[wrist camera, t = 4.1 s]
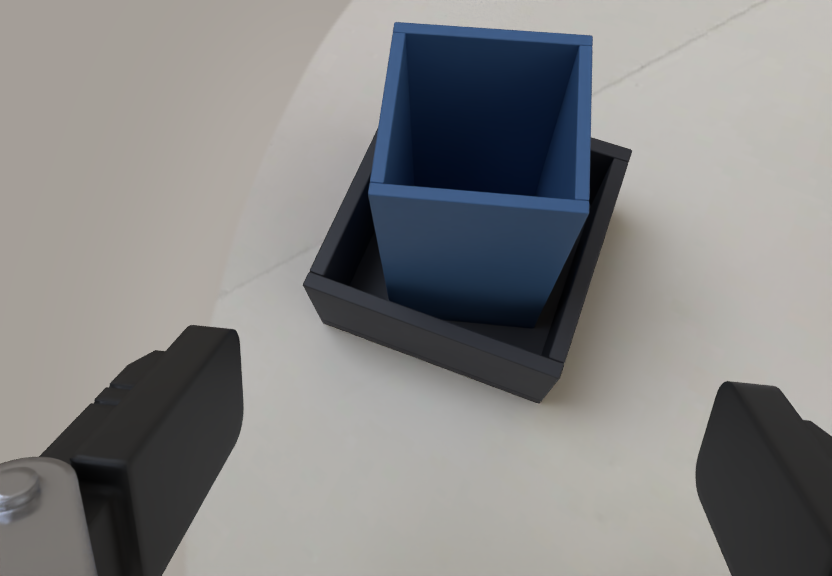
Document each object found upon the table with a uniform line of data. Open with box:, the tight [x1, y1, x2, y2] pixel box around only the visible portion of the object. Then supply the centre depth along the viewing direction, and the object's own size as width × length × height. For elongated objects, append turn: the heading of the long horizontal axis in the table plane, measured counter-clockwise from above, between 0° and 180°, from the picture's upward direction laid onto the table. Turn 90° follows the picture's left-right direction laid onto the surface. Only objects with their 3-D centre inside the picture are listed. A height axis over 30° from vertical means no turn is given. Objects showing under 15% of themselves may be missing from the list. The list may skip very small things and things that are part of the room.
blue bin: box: [368, 22, 593, 328], centre depth 24 cm, size 6×6×10 cm
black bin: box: [303, 129, 632, 403], centre depth 27 cm, size 10×10×5 cm
